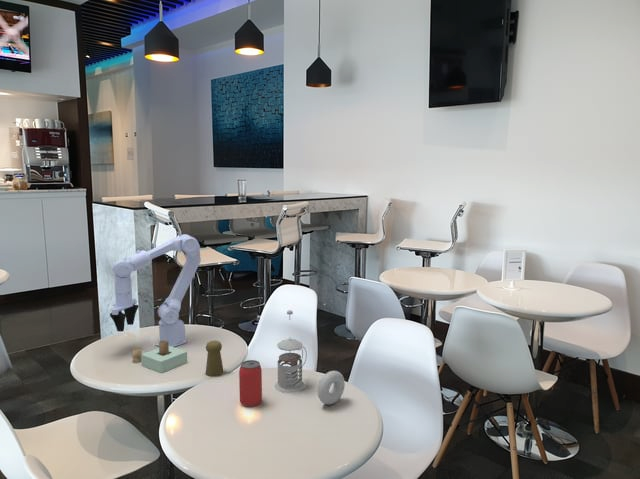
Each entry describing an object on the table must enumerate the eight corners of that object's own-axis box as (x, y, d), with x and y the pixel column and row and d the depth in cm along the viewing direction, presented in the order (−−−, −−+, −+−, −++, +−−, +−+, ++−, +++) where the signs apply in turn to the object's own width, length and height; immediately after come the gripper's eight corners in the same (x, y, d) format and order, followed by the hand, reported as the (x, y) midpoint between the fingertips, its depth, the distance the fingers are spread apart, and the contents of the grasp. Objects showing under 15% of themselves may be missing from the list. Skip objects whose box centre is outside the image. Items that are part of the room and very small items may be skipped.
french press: (268, 385, 149) (267, 310, 145) (294, 374, 158) (294, 302, 154) (289, 396, 142) (289, 317, 139) (315, 383, 151) (315, 308, 147)
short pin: (138, 358, 170) (138, 348, 169) (144, 360, 168) (143, 350, 168) (130, 361, 167) (130, 350, 167) (136, 363, 166) (135, 352, 165)
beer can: (265, 398, 141) (265, 361, 139) (255, 409, 134) (255, 369, 133) (246, 395, 143) (245, 358, 141) (235, 405, 137) (234, 366, 135)
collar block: (167, 355, 173) (167, 345, 173) (187, 362, 167) (186, 351, 166) (141, 365, 164) (141, 354, 164) (161, 373, 158) (160, 361, 157)
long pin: (165, 361, 168) (164, 340, 167) (171, 363, 166) (170, 341, 165) (157, 364, 165) (156, 342, 164) (163, 366, 163) (162, 344, 162)
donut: (323, 411, 133) (323, 378, 132) (315, 407, 136) (315, 374, 134) (347, 399, 140) (347, 368, 139) (338, 396, 143) (339, 364, 141)
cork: (221, 376, 155) (220, 345, 154) (203, 376, 156) (202, 345, 154) (225, 369, 161) (224, 338, 160) (208, 369, 162) (207, 338, 160)
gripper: (122, 287, 181) (124, 321, 183) (102, 297, 166) (105, 334, 168) (140, 287, 180) (142, 321, 182) (121, 297, 166) (123, 334, 168)
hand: (125, 327), depth 175 cm, fingers open, 7 cm apart
